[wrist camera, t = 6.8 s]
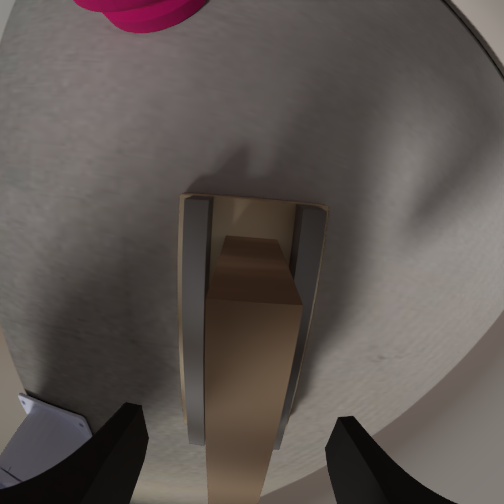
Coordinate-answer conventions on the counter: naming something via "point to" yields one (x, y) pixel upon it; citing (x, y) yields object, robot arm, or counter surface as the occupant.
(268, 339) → the door panel
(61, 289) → the counter surface
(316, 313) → the counter surface
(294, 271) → the track board
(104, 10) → the pepper mill
